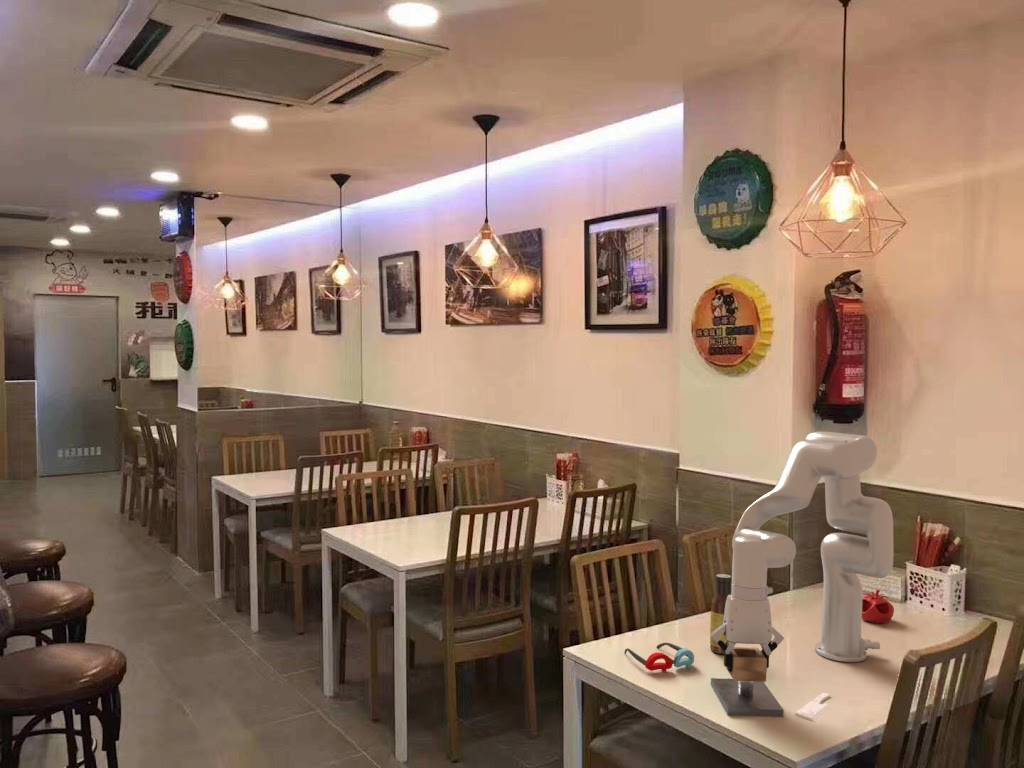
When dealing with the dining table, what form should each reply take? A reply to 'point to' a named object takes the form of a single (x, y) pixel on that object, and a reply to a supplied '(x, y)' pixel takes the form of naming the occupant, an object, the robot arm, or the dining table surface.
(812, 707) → the butcher knife
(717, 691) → the post stand
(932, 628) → the dining table surface
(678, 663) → the novelty glasses
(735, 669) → the wooden box
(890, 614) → the red tomato container
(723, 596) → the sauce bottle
